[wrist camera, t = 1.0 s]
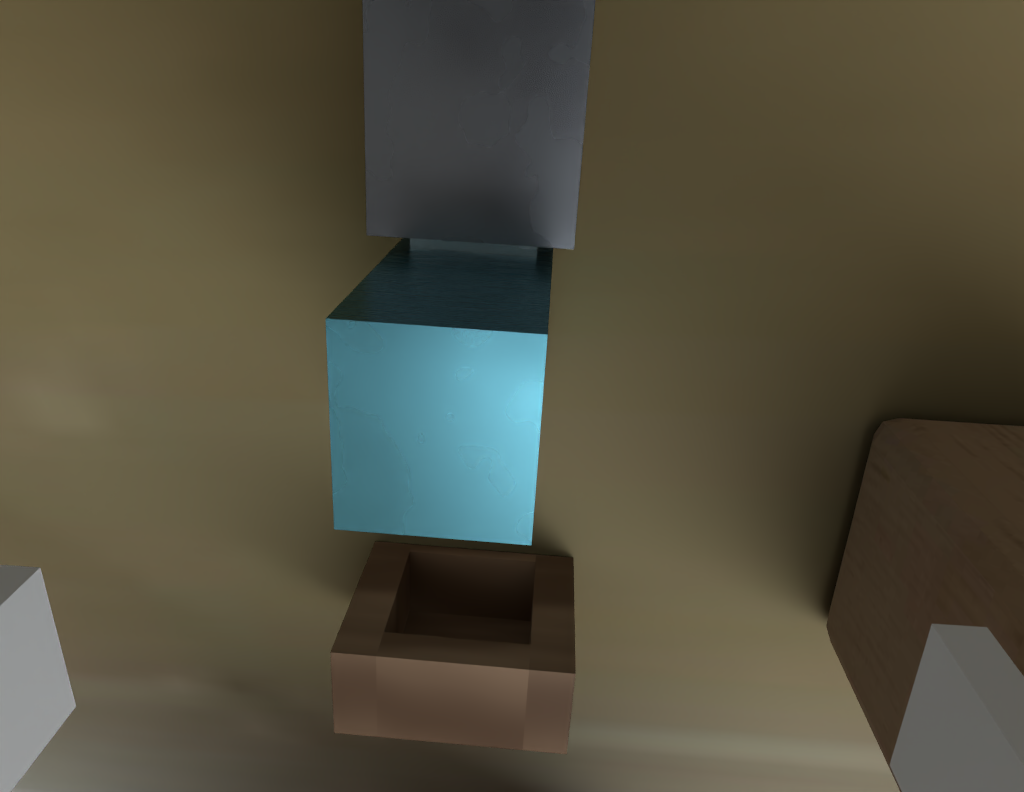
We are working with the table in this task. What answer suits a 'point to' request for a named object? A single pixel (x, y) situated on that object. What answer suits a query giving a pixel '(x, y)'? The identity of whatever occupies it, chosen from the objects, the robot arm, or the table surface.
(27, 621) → the robot arm
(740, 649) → the table surface
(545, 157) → the grey rectangular block
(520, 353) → the teal square post
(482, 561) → the socket
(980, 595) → the wooden block
